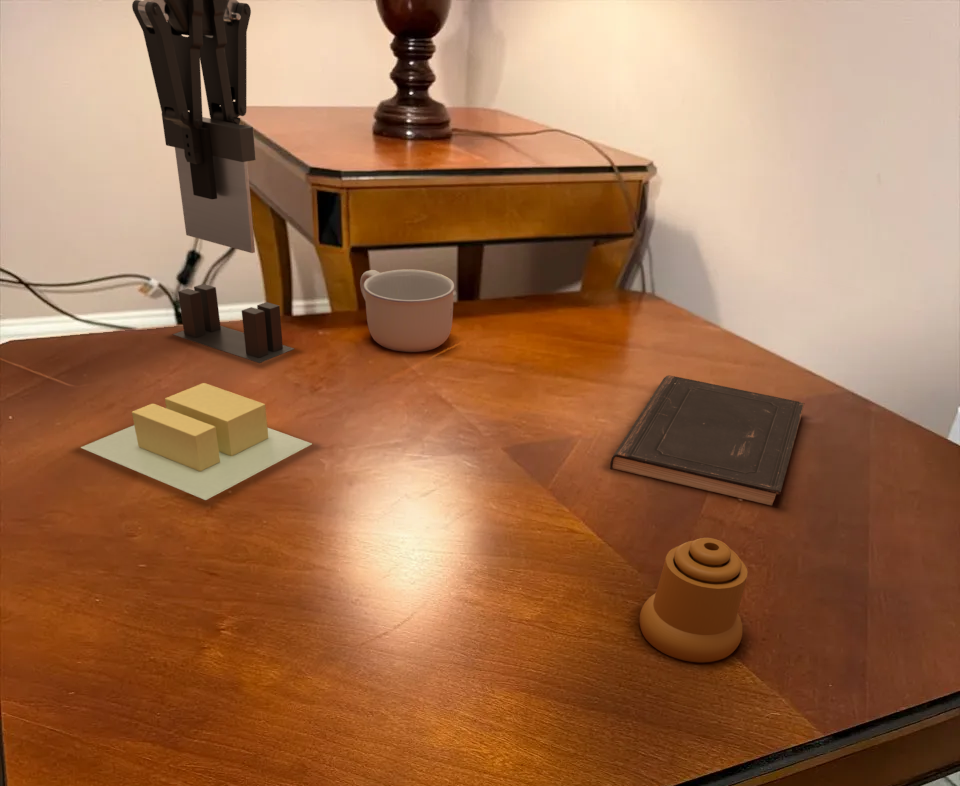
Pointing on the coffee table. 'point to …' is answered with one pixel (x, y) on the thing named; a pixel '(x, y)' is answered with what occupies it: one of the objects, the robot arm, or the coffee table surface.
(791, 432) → the hardcover book
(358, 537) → the coffee table surface
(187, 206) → the dough scraper
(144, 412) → the butter pat
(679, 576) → the ornamental finial
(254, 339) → the stand
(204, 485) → the butter dish
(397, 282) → the teacup
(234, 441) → the butter block
